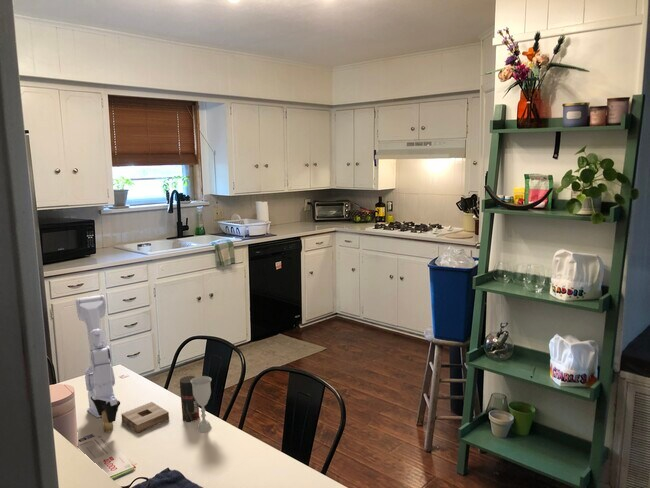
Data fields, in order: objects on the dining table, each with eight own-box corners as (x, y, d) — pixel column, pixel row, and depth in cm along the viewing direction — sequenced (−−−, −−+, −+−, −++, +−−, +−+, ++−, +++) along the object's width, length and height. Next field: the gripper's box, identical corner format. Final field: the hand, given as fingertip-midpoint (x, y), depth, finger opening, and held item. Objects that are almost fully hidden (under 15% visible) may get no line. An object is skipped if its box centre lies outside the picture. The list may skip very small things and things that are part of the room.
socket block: (122, 421, 190) (121, 413, 190) (152, 409, 199) (151, 401, 198) (138, 432, 182) (137, 425, 182) (169, 419, 191) (168, 411, 190)
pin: (102, 430, 185) (100, 411, 183) (110, 426, 187) (108, 408, 186) (106, 433, 183) (104, 414, 181) (114, 429, 185) (112, 411, 184)
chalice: (218, 424, 186) (215, 377, 183) (208, 434, 180) (204, 385, 177) (200, 421, 189) (197, 375, 185) (190, 431, 182) (186, 383, 179)
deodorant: (195, 422, 188) (192, 383, 186) (179, 421, 190) (176, 382, 187) (202, 414, 194) (199, 376, 191) (187, 413, 195) (184, 375, 193)
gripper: (82, 379, 183) (86, 415, 186) (100, 391, 174) (105, 429, 176) (102, 373, 189) (106, 408, 191) (121, 384, 179) (125, 421, 181)
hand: (107, 418), depth 184 cm, fingers open, 7 cm apart
